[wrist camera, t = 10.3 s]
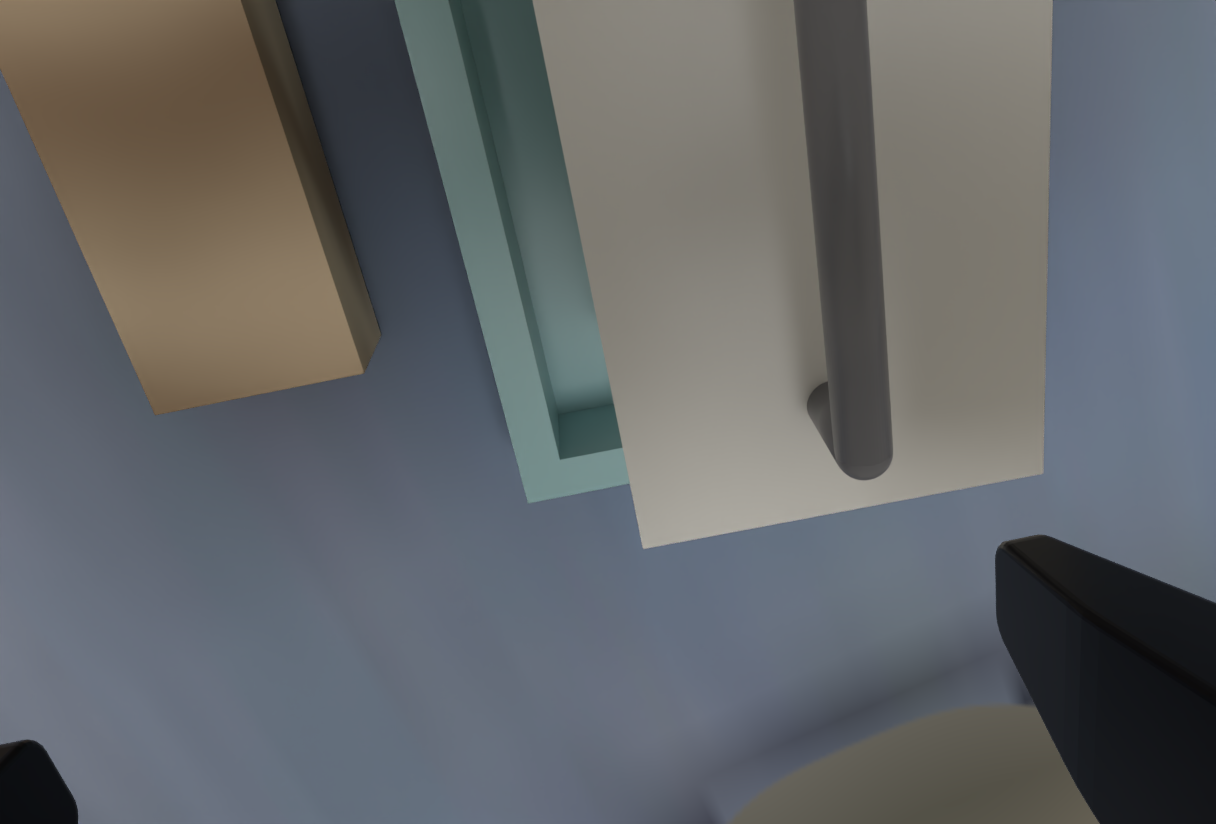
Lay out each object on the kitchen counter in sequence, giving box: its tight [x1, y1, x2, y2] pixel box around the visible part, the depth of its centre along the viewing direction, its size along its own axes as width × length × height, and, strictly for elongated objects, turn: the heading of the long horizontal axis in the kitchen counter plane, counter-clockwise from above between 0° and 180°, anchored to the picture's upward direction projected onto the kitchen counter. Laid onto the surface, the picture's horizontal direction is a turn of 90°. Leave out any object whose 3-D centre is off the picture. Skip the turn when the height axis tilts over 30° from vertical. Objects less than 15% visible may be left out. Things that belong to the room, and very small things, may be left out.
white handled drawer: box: [532, 0, 1053, 549], centre depth 13 cm, size 9×5×10 cm, turn 10°
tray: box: [394, 0, 630, 503], centre depth 16 cm, size 14×10×2 cm
